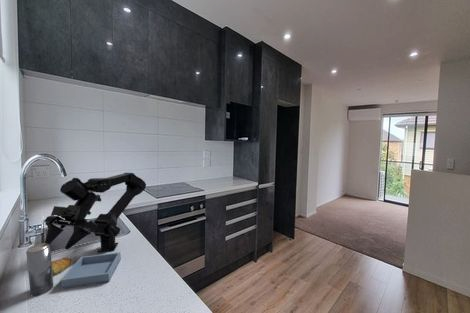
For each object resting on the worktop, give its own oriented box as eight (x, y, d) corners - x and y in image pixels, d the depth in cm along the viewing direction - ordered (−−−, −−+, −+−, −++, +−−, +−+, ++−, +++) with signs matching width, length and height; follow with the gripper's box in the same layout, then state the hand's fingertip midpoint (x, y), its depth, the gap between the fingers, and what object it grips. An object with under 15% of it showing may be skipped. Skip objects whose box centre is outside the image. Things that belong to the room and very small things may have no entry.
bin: (81, 264, 83) (81, 256, 83) (120, 259, 87) (120, 252, 86) (61, 288, 70) (61, 280, 69) (109, 281, 73) (108, 273, 73)
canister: (37, 285, 71) (33, 243, 70) (57, 282, 73) (53, 241, 71) (25, 297, 66) (21, 252, 65) (46, 294, 67) (42, 250, 66)
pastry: (63, 261, 86) (62, 252, 85) (77, 262, 85) (77, 253, 84) (38, 276, 76) (37, 266, 76) (54, 278, 75) (53, 268, 75)
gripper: (47, 194, 79) (13, 236, 69) (88, 197, 75) (58, 242, 65) (69, 208, 87) (42, 247, 78) (107, 211, 83) (83, 253, 73)
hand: (55, 247), depth 73 cm, fingers open, 9 cm apart
